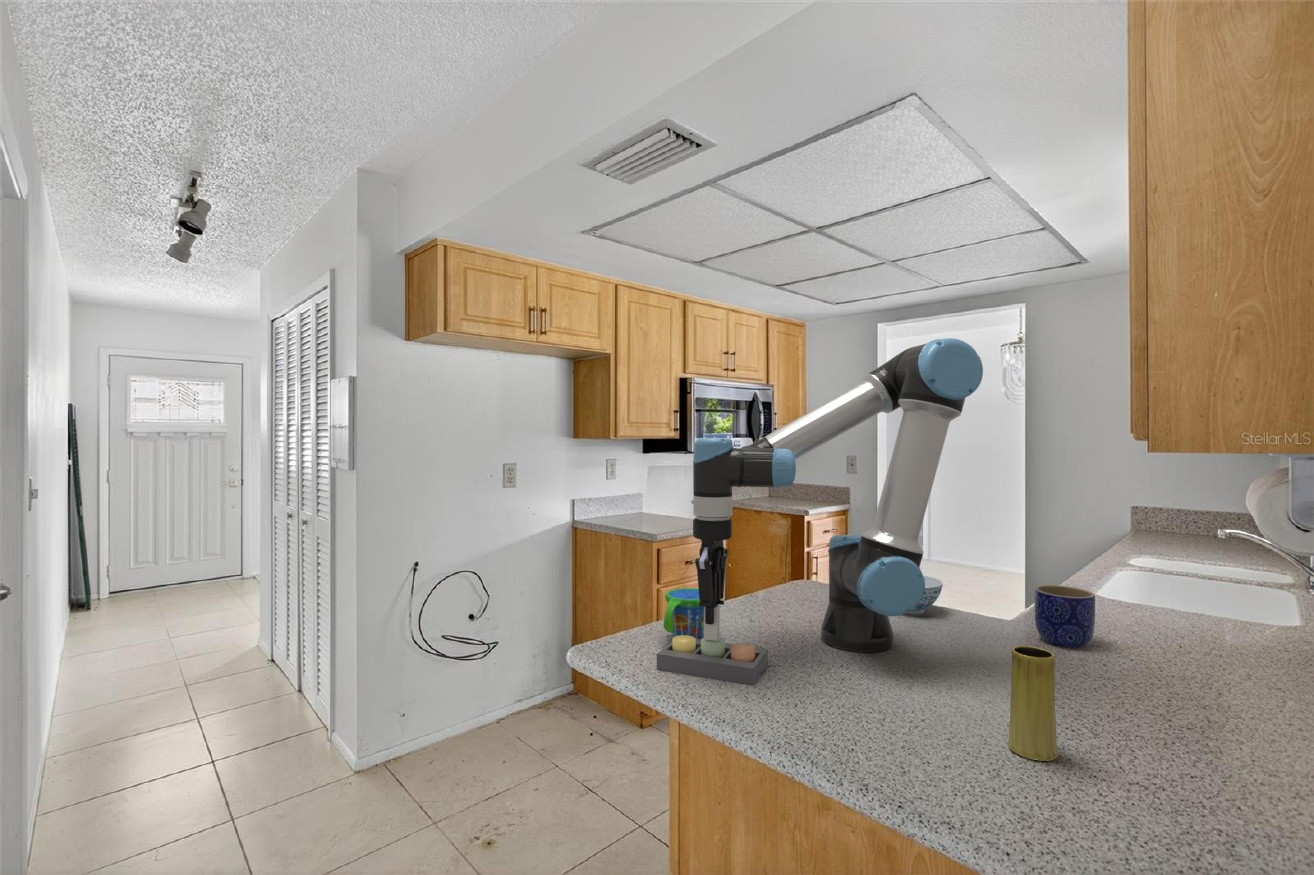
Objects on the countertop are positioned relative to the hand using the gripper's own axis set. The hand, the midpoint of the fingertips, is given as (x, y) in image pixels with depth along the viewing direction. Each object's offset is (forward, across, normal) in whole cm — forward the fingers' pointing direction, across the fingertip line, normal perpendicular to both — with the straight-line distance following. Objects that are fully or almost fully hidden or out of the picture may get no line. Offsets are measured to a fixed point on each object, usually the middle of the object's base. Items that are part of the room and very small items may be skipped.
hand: (711, 639), depth 121 cm
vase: (+5, +12, +52) cm, 54 cm away
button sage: (+4, 0, 0) cm, 4 cm away
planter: (+5, -43, +65) cm, 78 cm away
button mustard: (+5, 0, -6) cm, 7 cm away
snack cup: (+6, -13, -9) cm, 17 cm away
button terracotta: (+5, 0, +6) cm, 8 cm away
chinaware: (+5, -56, +34) cm, 66 cm away
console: (+5, 0, 0) cm, 5 cm away
